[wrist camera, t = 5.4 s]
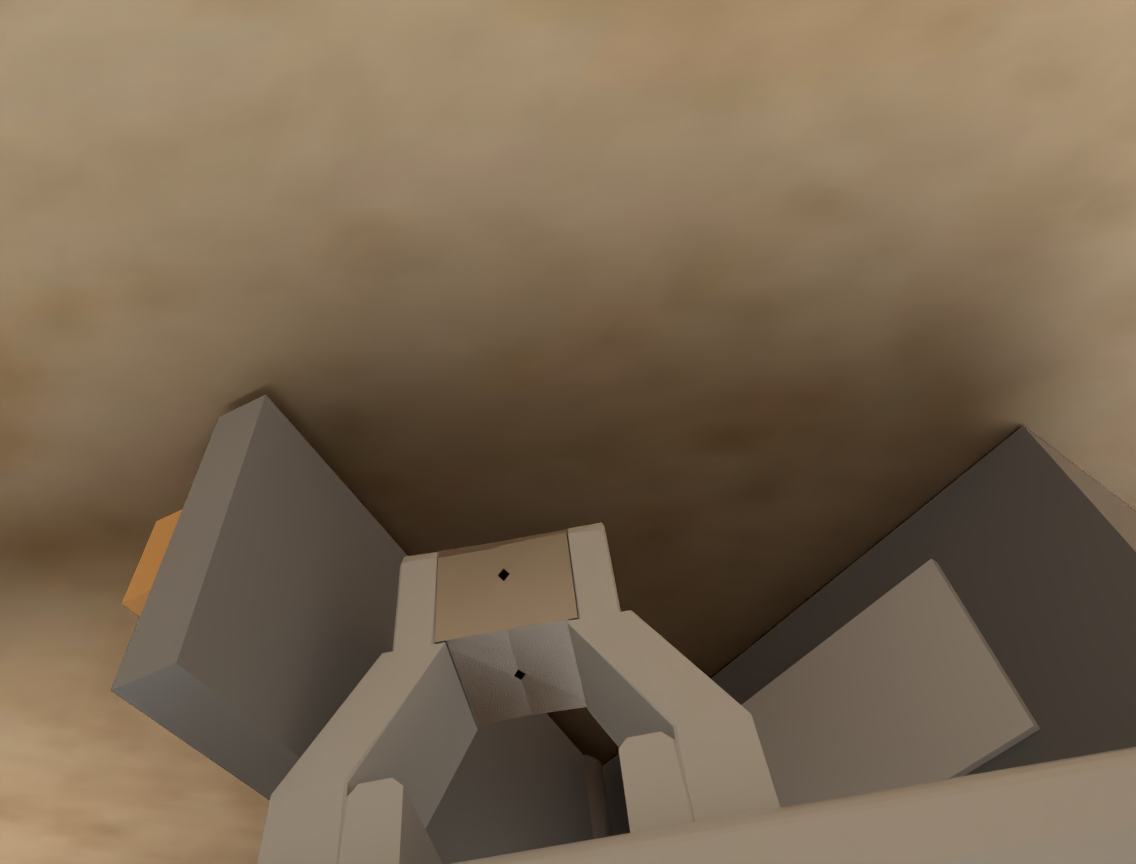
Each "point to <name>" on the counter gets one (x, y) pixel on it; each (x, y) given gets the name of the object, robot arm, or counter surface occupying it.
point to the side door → (314, 641)
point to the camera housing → (953, 641)
